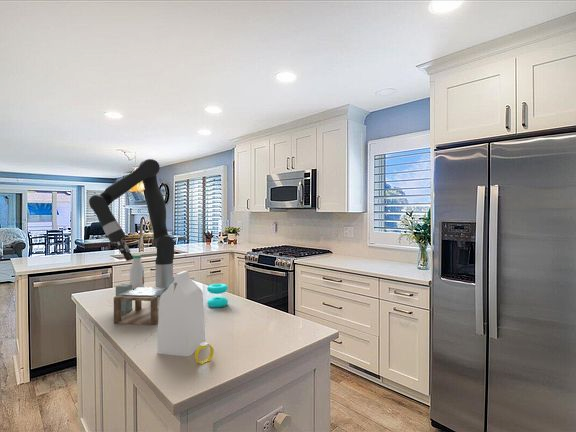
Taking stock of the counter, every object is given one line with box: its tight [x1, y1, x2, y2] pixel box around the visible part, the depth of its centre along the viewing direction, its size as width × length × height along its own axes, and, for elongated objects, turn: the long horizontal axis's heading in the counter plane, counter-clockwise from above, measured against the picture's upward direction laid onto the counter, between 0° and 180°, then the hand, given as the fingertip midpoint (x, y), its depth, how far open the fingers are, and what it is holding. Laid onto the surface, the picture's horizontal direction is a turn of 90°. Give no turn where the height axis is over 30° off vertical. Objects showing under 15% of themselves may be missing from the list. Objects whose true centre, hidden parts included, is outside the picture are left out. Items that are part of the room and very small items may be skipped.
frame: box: [113, 287, 168, 326], centre depth 144 cm, size 18×18×11 cm
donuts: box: [206, 283, 229, 308], centre depth 162 cm, size 10×10×10 cm
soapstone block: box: [115, 283, 133, 313], centre depth 153 cm, size 5×5×12 cm
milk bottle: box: [129, 254, 145, 290], centre depth 196 cm, size 8×8×20 cm
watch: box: [194, 341, 214, 365], centre depth 101 cm, size 6×3×6 cm, turn 137°
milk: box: [156, 270, 207, 357], centre depth 112 cm, size 12×12×26 cm
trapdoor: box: [117, 286, 167, 301], centre depth 144 cm, size 17×13×3 cm
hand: (130, 260), depth 165 cm, fingers open, 8 cm apart
